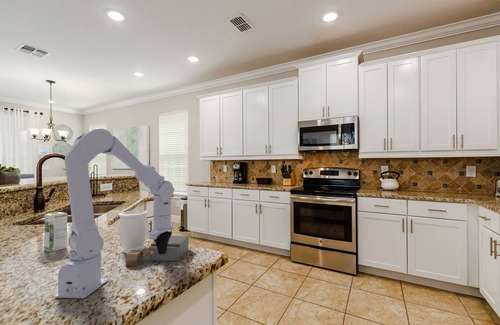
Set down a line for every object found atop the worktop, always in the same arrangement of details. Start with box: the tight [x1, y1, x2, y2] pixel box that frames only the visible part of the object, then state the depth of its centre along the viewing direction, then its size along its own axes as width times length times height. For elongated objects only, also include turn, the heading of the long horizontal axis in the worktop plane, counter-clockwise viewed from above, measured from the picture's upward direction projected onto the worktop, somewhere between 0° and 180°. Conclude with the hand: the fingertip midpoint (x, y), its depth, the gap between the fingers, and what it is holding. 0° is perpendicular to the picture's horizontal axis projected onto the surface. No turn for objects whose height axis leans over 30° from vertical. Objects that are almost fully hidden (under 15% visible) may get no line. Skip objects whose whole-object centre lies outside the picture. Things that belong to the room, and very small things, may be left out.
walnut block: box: [125, 249, 144, 267], centre depth 80 cm, size 4×4×4 cm
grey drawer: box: [148, 245, 180, 262], centre depth 87 cm, size 11×11×5 cm
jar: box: [118, 209, 148, 254], centre depth 94 cm, size 11×10×15 cm
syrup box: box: [43, 211, 68, 253], centre depth 95 cm, size 6×6×14 cm
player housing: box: [150, 235, 190, 261], centre depth 89 cm, size 10×11×6 cm
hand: (162, 253), depth 81 cm, fingers closed
